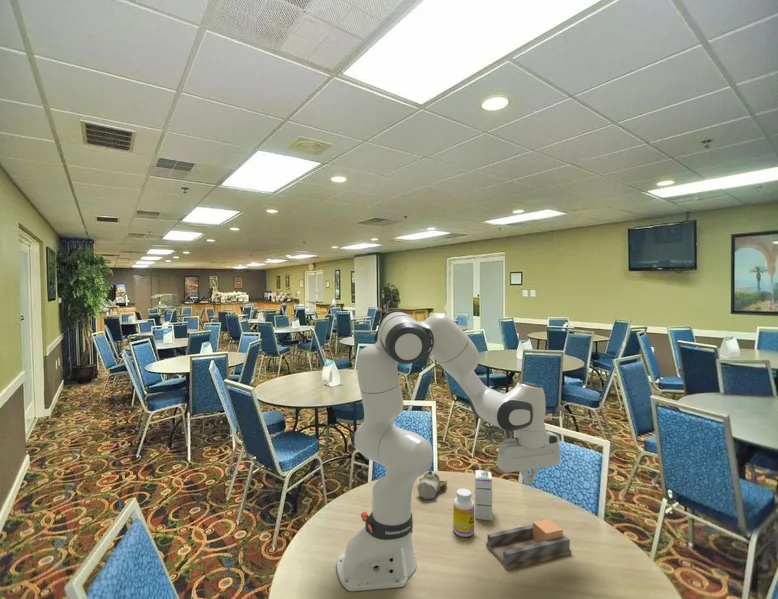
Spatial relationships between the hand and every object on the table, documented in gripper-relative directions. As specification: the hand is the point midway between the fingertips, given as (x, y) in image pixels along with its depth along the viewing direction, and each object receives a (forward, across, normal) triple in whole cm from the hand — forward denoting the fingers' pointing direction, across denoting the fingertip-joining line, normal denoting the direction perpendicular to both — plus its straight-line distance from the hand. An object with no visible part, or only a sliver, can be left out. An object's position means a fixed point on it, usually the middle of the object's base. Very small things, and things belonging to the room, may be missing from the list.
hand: (528, 482), depth 116 cm
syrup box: (+21, -3, +20) cm, 29 cm away
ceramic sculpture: (+21, -14, +40) cm, 47 cm away
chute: (+20, 0, 0) cm, 21 cm away
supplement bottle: (+21, -14, +14) cm, 29 cm away
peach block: (+19, +7, 0) cm, 21 cm away
